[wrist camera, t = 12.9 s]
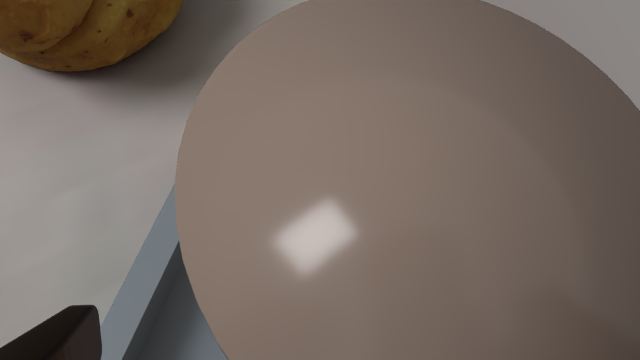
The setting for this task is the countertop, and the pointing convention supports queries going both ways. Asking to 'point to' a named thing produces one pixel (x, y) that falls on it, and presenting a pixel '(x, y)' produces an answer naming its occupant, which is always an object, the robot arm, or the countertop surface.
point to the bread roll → (80, 30)
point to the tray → (158, 304)
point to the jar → (412, 190)
